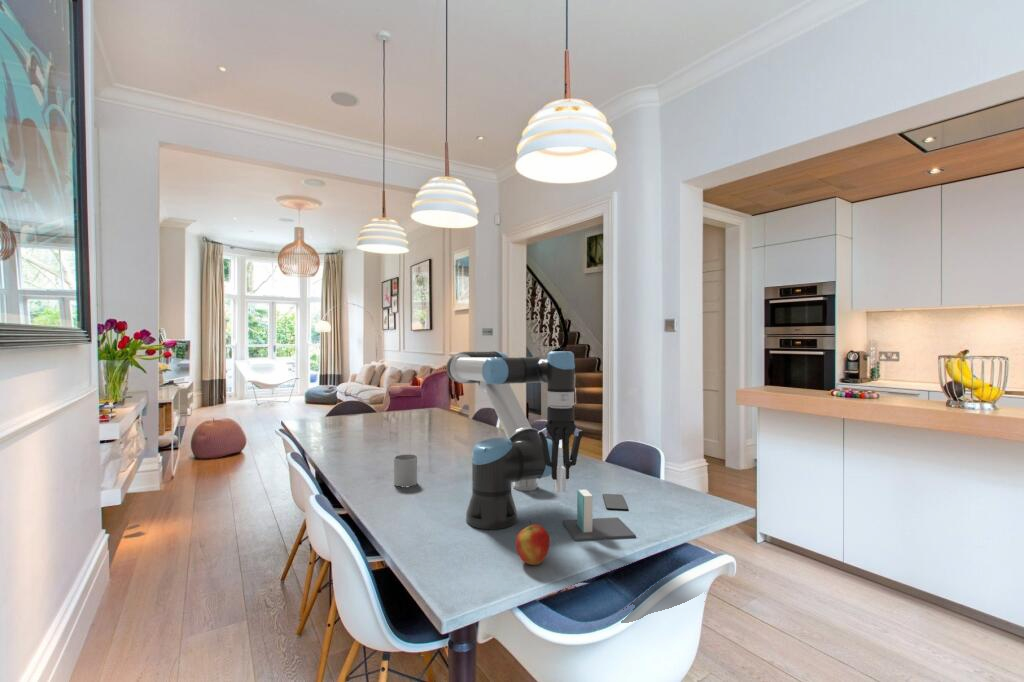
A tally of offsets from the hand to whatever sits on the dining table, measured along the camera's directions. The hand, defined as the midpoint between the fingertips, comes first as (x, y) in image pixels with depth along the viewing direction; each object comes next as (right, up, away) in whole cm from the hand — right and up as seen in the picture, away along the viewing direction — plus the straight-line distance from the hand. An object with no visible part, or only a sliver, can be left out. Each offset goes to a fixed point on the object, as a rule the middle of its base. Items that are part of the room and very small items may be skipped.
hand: (560, 490), depth 131 cm
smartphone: (+21, -12, +24) cm, 34 cm away
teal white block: (+7, -11, +1) cm, 13 cm away
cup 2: (-9, -12, +40) cm, 43 cm away
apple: (-8, -12, -18) cm, 23 cm away
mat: (+11, -12, +2) cm, 16 cm away
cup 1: (-53, -11, +43) cm, 69 cm away
